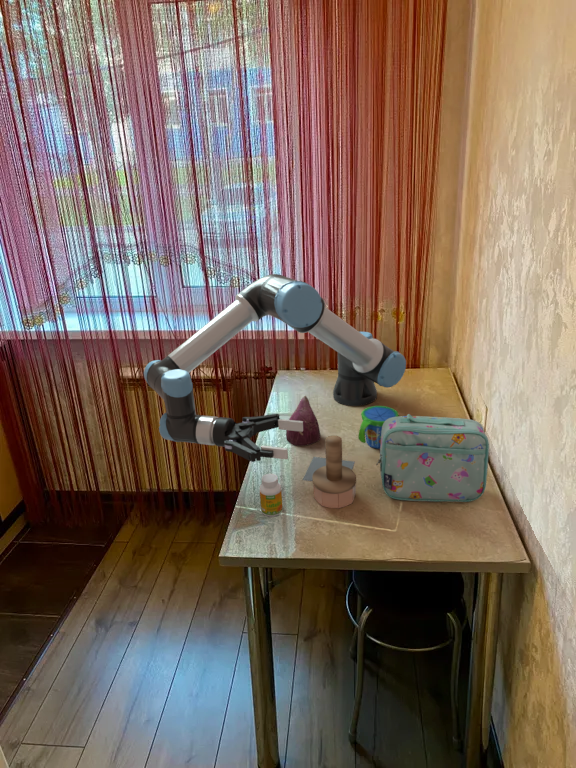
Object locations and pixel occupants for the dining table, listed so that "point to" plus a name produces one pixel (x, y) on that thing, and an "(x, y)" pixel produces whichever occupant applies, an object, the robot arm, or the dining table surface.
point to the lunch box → (433, 458)
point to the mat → (321, 462)
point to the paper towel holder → (334, 470)
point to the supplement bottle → (270, 495)
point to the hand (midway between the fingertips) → (295, 439)
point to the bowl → (335, 498)
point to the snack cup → (374, 424)
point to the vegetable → (304, 425)
